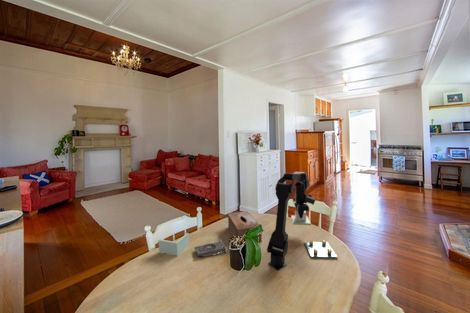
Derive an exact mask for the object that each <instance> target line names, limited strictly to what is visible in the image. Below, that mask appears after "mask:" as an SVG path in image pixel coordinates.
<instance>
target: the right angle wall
mask: <svg viewBox="0 0 470 313" xmlns="http://www.w3.org/2000/svg"><path fill="white" fill-rule="evenodd" d="M189 234H190V233H189V232H187V233H185V234H184V235H182V237H180V239H178V240H177V241H173V240H166V239H158V240H157V241H158V252H163V253H167V254H166V255H169V254H172V255H171V256H174V255H178V256H180V255H181V253H183V252H184V251H185V250H184V249H185V248H186V247H187V246H188V245H189V246H190V237H189ZM189 246H188V247H189ZM188 247H187V248H188ZM187 248H186V249H187ZM183 250H184V251H183ZM182 251H183V252H182ZM163 253H162V254H163Z"/></svg>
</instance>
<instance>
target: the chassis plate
mask: <svg viewBox="0 0 470 313" xmlns="http://www.w3.org/2000/svg"><path fill="white" fill-rule="evenodd" d="M304 245H305V248H306V250H307V252H308V255H309V256H310V258H311V259H325V260H328V259H329V260H331V259H333V260H334V259H335V260H338V255H337V254H336V252H335V251H334V249H333V248H332V247H331V245H330V244H329V242H328V241H326V240H321V241H313V240H312V239H310V240H308V241H304Z"/></svg>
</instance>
